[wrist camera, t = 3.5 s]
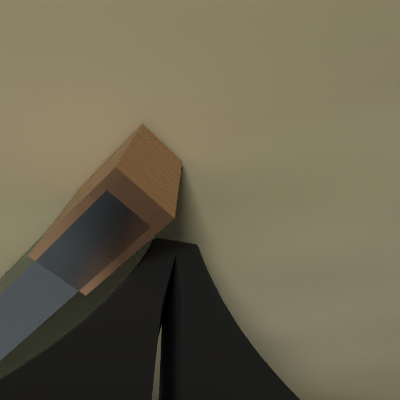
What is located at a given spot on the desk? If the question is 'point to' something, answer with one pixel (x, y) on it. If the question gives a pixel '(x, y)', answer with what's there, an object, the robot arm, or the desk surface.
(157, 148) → the arm
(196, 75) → the desk surface
